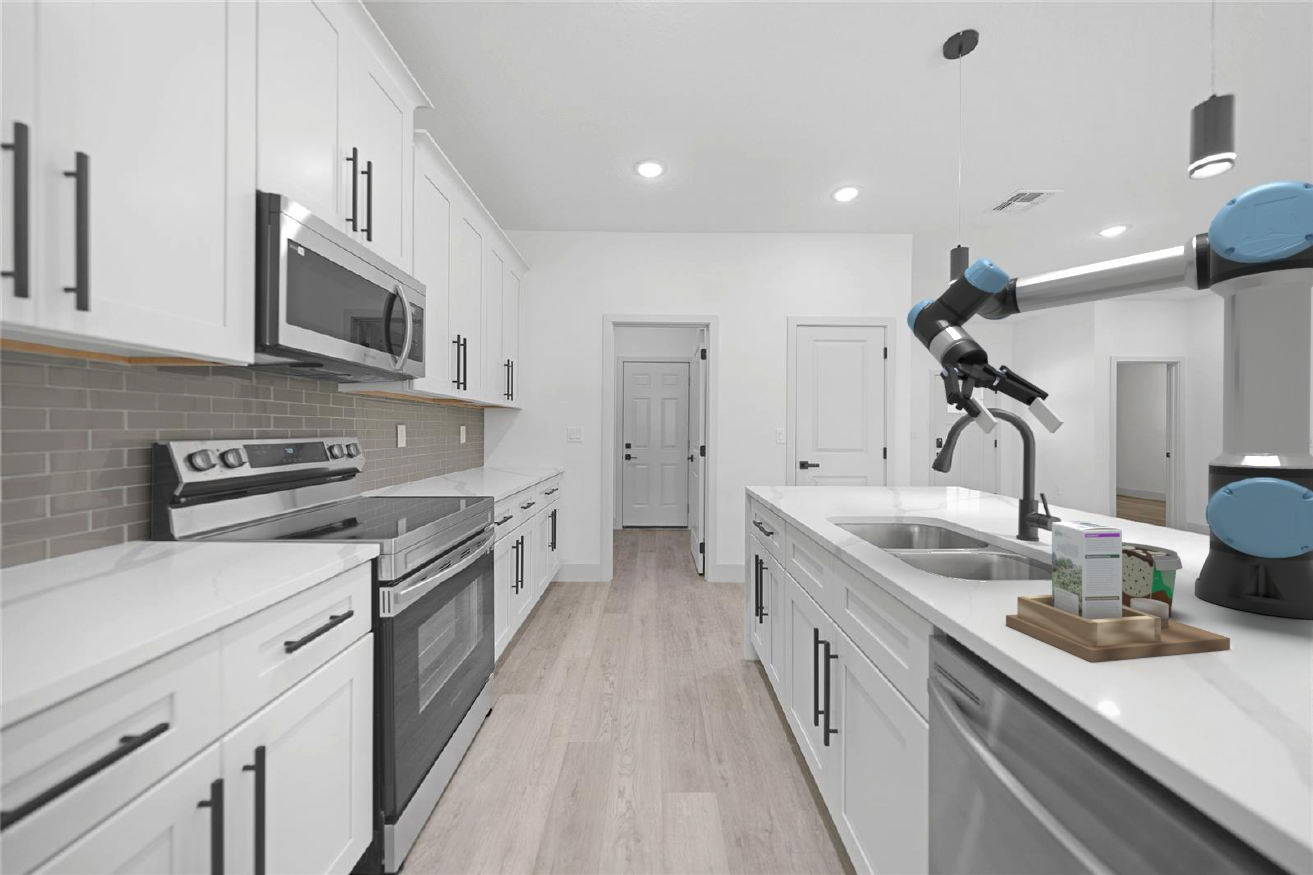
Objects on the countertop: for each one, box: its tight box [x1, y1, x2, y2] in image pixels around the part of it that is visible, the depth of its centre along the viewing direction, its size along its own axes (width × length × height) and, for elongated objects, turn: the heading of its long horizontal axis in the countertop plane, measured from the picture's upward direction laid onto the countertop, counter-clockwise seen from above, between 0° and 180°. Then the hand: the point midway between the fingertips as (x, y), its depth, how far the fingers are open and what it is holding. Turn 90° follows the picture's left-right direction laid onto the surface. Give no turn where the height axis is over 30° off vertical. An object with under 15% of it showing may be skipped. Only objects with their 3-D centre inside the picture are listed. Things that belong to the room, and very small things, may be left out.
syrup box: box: [1051, 520, 1123, 620], centre depth 74 cm, size 6×6×14 cm
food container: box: [1122, 541, 1183, 619], centre depth 86 cm, size 12×6×10 cm, turn 168°
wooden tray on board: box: [1005, 594, 1231, 663], centre depth 75 cm, size 22×13×4 cm, turn 100°
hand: (1025, 428), depth 93 cm, fingers open, 13 cm apart
